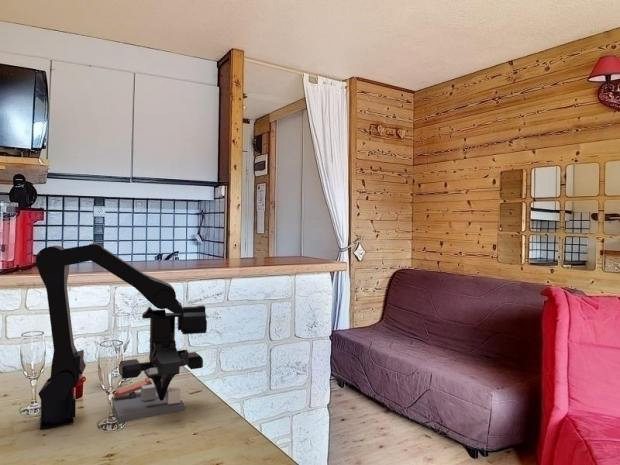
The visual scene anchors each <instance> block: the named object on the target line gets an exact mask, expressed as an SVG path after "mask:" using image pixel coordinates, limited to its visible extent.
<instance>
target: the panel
mask: <svg viewBox="0 0 620 465" xmlns="http://www.w3.org/2000/svg"><path fill="white" fill-rule="evenodd" d="M169 388H171V386H168V389H169ZM113 410H114V411H113ZM185 410H186V405H185V403H184V402H183V400H182V399H181V402H180V403H174V404H167V402H166V395H165V397H164V400H162V401H160V400H159V397H158V394H157V391H156V399H153V400H147V401H143V400H142V399H141V391H134V392H132V393H129V394H126V395H123V396H120V397H117V398H115V397H114V398H113V409H112V411H113V413H114V415H115V416H114V417H115V418H116V420H117V423H125V422H130V421H134V420H141V419H147V418H153V417H157V416H164V415H167V414H168V415H169V414H172V413H173V414H174V413H179V412H185Z"/></svg>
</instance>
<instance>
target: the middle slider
mask: <svg viewBox="0 0 620 465" xmlns="http://www.w3.org/2000/svg"><path fill="white" fill-rule="evenodd" d="M140 392H141V399H142V400H143V401H147V400H153V399H156V389H155V386H154V383H152V384H151V385H144V386H141V389H140Z"/></svg>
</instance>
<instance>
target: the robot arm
mask: <svg viewBox="0 0 620 465" xmlns="http://www.w3.org/2000/svg"><path fill="white" fill-rule="evenodd" d="M87 262H93V263H94V264H96V265H98V266H99V267H100V268H103V269H104V270H106V271H108V272H110V273H111V274H112V275H114V276H116V277H117V278H118V279H120V280H122V281H123V282H125V283H127V284H128V285H129V286H132V287H134V289H136V291H138V292H139V293H140V294H141V295H142V296H143V297H144V298H145V299H146V300H147V301H148V302H149V303H150V304H151V305H153V306H154V307H155V308H157V309H153V308H152V307H151V306H148V307H147V309H146V310H145V311H144V312H142V314H141V316H142V317H141V318H142V319H149V341H148V342H149V355H148V359H149V361H145V362H140V361H139V360H138V358H134V359H125V360H122V361H121V362H120V364H119V373H120V375H121V379H124V380H125V379H126V380H127V379H133V378H138V377H139V376H140V374H141V373H142V372H143V373H144V375H145V376H146V378H149V379H150V380H152V381H151V382H152V384H154V386H155V389H156V391H157V394H158V397H159V400H160V401H162V400H164V397H165V395H166V392H167V389H168V387H170V384H171V382H172V380H173V378H174V377H175V376H176V375H178V376H179V374H180V370H181V367H185V366H187V367H188V368H189V369H190V370H197V369H202V368H203V367H204V358H203V357H202V356H201V355H200V354H199V353H197V352H196V351H192V352H189V351H188V349H179V350H178V349H177V342H176V340H175V339H176V338H175V337H176V336H175V335H176V333H175V332H176V318H177V331H180V332H181V333H182V335H195V334H198V335H199V334H206V333H207V329H208V320H207V314H206V306H205V305H203V304H202V305H196V306H183V304H182V302H180V301H179V300H178V299H177V294H176V290H175V288H174V287H173V286H172V285H171V284H170V283H168V282H167V281H164V280H161V279H160V278H156V277H154V276H150V275H148V274H146V273H144V272H142V271H140V270H139V269H138V268H136V267H134V266H133V265H131V264H130V263H129V262H127V261H125V260H123V259H122V258H121V257H119V256H117V255H115V254H114V253H113V252H110V250H108V249H106V248H105V246H103V245H102V244H100V243H97V242H94V243H93V242H92V243H90V244H87V245H82V246H81V245H80V246H73V247H67V248H64V247H63V246H61V245H52V246H47V247H46V246H45V247H44V248H42V249H40V250H39V251H38V252H37V254H36V256H35V264H36V268H37V271H38V273H39V277H40V278H41V280H42V283H43V284H44V286H45V288H46V297H47V304H48V312H49V321H50V329H51V337H52V344H53V345H52V346H53V354H52V360H51V361H52V362H51V365H50V366H51V367H50V376H49V378H47V379H46V381H45V383H44V384H43V385H42V387H41V389H40V390H39V392H38V396H39V398H40V416H39V429H41V430H44V429H50V428H55V427H62V426H67V425H71V424H72V425H73V424H74V419H75V418H76V414H77V412H76V410H77V408H76V405H77V400H76V396H74V392H73V389H74V388H75V387H76V386H77V385H78V383H79V381H80V379H81V378H82V375H83V374H84V371H85V369H86V366H87V364H86V363H85V359H84V356H85V355H84V354H85V352H84V351H85V349H82V350H77V348H76V346H75V342H74V334H73V326H72V325H73V324H72V318H71V309H70V302H69V294H68V278H69V274H70V273H69V272H70V265H76V264H81V263H87ZM166 310H168V311H169V312H166Z"/></svg>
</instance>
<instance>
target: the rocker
mask: <svg viewBox="0 0 620 465" xmlns="http://www.w3.org/2000/svg"><path fill="white" fill-rule="evenodd" d="M151 384H153V381H151V378H148V377H145V378H144V380H142V381H141V380H140V381H139V382H135V383H133V384H130V385H127V386H124V387H122V388H117V391H116V393H115V394H114V395H113V396H114V397H115V398H117V397H120V396H123V395H126V394H129V393H132V392H134V391H135V392H138V391H139V390H140V391H141V386H144V385H151Z"/></svg>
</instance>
